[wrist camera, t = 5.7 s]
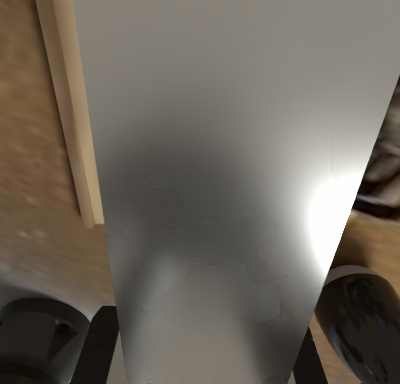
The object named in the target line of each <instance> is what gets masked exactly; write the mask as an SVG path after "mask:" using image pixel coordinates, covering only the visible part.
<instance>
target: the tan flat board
mask: <svg viewBox="0 0 400 384" xmlns="http://www.w3.org/2000/svg"><path fill="white" fill-rule="evenodd" d="M36 5H37V9H38V14H39V19H40V23H41V28H42V33H43V38H44V42H45V47H46V52H47V56H48V61H49V66H50V71H51V75H52V80H53V85H54V89H55V94H56V99H57V104H58V108H59V113H60V118H61V122H62V127H63V132H64V137H65V141H66V146H67V151H68V155H69V160H70V165H71V170H72V174H73V179H74V184H75V188H76V193H77V198H78V202H79V207H80V212H81V217H82V221H83V226H84V229H92V228H93V226H94V224H104V217H103V210H102V203H101V196H100V189H99V182H98V175H97V168H96V161H95V154H94V147H93V140H92V133H91V126H90V119H89V112H88V105H87V98H86V91H85V84H84V77H83V70H82V63H81V56H80V49H79V41H78V34H77V27H76V20H75V13H74V6H73V0H36Z"/></svg>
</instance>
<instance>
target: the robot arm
mask: <svg viewBox="0 0 400 384" xmlns="http://www.w3.org/2000/svg"><path fill="white" fill-rule="evenodd" d="M70 381H71V382H70ZM69 382H70V383H69ZM0 384H127V379H126V372H125V365H124V358H123V351H122V344H121V337H120V330H119V323H118V316H117V309H116V306H102V307H101V308H100V309H99V311H98V312H97V313H96V314H95V315H94V317H93V318H92V321H91V323H90V322H89V321H88V320H87V319H86V318H85V317H84V316H83V315H82V314H81V313H79V312H78V311H76V310H75V309H73V308H71V307H69V306H67V305H64V304H62V303H59V302H55V301H51V300H46V299H36V298H30V299H21V300H17V301H14V302H11V303H9V304H7V305H6V306H4V307H3V308H2V309H1V311H0ZM288 384H328V382H327V379H326V376H325V373H324V370H323V367H322V364H321V361H320V358H319V355H318V353H317V349H316V346H315V343H314V341H313V337H312V334H311V331H310V328H309V326H308V329H307V331H306V334H305V337H304V340H303V342H302V345H301V348H300V351H299V354H298V356H297V359H296V362H295V365H294V367H293V370H292V373H291V376H290V378H289V381H288Z"/></svg>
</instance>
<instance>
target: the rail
mask: <svg viewBox="0 0 400 384" xmlns="http://www.w3.org/2000/svg"><path fill="white" fill-rule="evenodd" d="M73 6H74V13H75V20H76V27H77V34H78V41H79V49H80V56H81V63H82V70H83V77H84V84H85V91H86V98H87V105H88V112H89V119H90V126H91V133H92V140H93V147H94V154H95V161H96V168H97V175H98V182H99V189H100V196H101V203H102V210H103V217H104V224H105V231H106V238H107V245H108V252H109V259H110V267H111V274H112V281H113V288H114V295H115V302H116V309H117V316H118V323H119V330H120V337H121V344H122V351H123V358H124V365H125V372H126V379H127V384H288V381H289V378H290V376H291V373H292V370H293V367H294V365H295V362H296V359H297V356H298V354H299V351H300V348H301V345H302V342H303V340H304V337H305V334H306V331H307V329H308V326H309V323H310V320H311V318H312V315H313V312H314V309H315V307H316V304H317V301H318V298H319V296H320V293H321V290H322V287H323V285H324V282H325V279H326V276H327V274H328V271H329V268H330V265H331V262H332V260H333V257H334V254H335V251H336V249H337V246H338V243H339V240H340V238H341V235H342V232H343V229H344V227H345V224H346V221H347V218H348V216H349V213H350V210H351V207H352V205H353V202H354V199H355V196H356V194H357V191H358V188H359V185H360V182H361V180H362V177H363V174H364V171H365V169H366V166H367V163H368V160H369V158H370V155H371V152H372V149H373V147H374V144H375V141H376V138H377V136H378V133H379V130H380V127H381V125H382V122H383V119H384V116H385V113H386V111H387V108H388V105H389V102H390V100H391V97H392V94H393V91H394V89H395V86H396V83H397V80H398V78H399V75H400V0H73Z"/></svg>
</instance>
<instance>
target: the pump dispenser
mask: <svg viewBox="0 0 400 384" xmlns="http://www.w3.org/2000/svg"><path fill="white" fill-rule="evenodd" d="M314 314H315V317H316V319H317V321H318V323H319V325H320V327H321V329H322V331H323V333H324V335H325V337H326V338H327V340H328V342H329V343H330V345H331V347H332V348H333V350H334V351H335V353H336V354H337V355H338V357H339V358H340V359H341V361H342V362H343V363H344V365H345V366H346V367H347V368H348V369H349V371H350V372H351V373H352V374H353V375H354V376H355V377H356V378H357V379H358V380H359V381H360V382H361V383H360V384H400V298H399V296H398V294H397V293H396V291H395V289H394V288H393V286H392V285H391V284H390V283H389V282H388V281H387V280H386V279H384V278H383V277H381V276H379V275H378V274H377V273H375V272H374V271H372V270H370V269H368V268H365V267H362V266H358V265H343V266H339V267H336V268H333V269H331V270H329V271H328V274H327V276H326V279H325V282H324V285H323V287H322V290H321V293H320V296H319V298H318V301H317V304H316V307H315V309H314Z"/></svg>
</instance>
